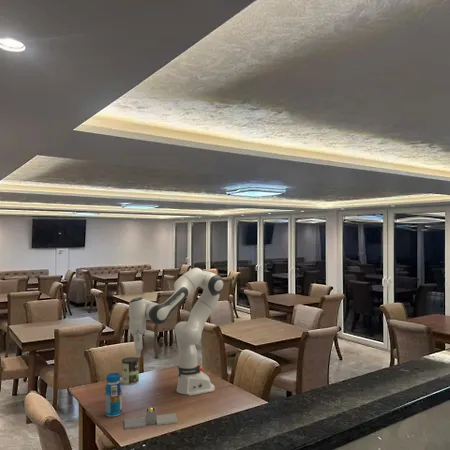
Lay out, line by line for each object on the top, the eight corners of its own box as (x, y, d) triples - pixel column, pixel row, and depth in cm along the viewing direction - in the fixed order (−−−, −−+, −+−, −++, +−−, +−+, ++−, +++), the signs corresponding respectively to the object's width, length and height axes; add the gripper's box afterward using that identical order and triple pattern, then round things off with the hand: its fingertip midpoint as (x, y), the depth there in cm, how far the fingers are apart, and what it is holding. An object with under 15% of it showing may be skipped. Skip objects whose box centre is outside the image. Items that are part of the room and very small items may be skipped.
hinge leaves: (175, 415, 213) (175, 403, 213) (177, 422, 204) (177, 410, 204) (124, 421, 207) (124, 408, 207) (124, 429, 198) (124, 416, 198)
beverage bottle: (101, 416, 214) (101, 376, 214) (111, 409, 221) (111, 371, 222) (115, 418, 211) (115, 378, 211) (125, 411, 218) (124, 372, 219)
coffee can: (140, 379, 268) (140, 356, 268) (136, 384, 257) (136, 361, 258) (124, 379, 268) (124, 357, 268) (120, 385, 257) (119, 362, 258)
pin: (153, 420, 207) (152, 406, 207) (153, 422, 205) (153, 408, 205) (148, 421, 207) (147, 406, 207) (148, 423, 204) (148, 408, 204)
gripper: (144, 332, 215) (145, 359, 215) (142, 324, 235) (143, 348, 235) (132, 333, 214) (133, 360, 214) (131, 325, 234) (131, 350, 233)
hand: (138, 354), depth 224 cm, fingers open, 8 cm apart
